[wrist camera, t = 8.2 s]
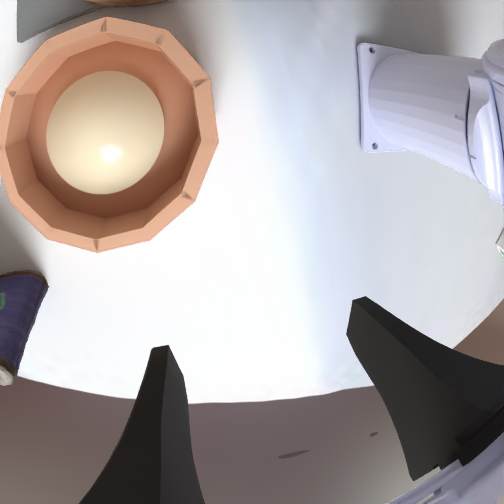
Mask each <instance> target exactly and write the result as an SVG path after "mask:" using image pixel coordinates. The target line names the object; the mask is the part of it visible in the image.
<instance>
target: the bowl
mask: <svg viewBox="0 0 504 504" xmlns="http://www.w3.org/2000/svg"><path fill="white" fill-rule="evenodd" d="M218 143H219V141H218V134H217V126H216V119H215V112H214V104H213V97H212V89H211V81H210V77H209V76H208V75H207V74H206V72H205V71H204V70H203V69H202V68H201V67H200V65H199V64H198V63H197V62H196V61H195V60H194V58H193V57H192V56H191V55H190V54H189V53H188V52H187V50H186V49H185V48H184V47H183V46H182V45H181V44H180V43H179V42H178V40H177V39H176V38H175V37H174V36H173V35H172V34H171V33H170V32H169V31H168V30H166V29H162V28H158V27H154V26H150V25H146V24H142V23H137V22H133V21H128V20H123V19H117V18H112V17H103V18H100V19H97V20H94V21H91V22H89V23H86V24H83V25H80V26H78V27H75V28H73V29H70V30H68V31H65V32H63V33H61V34H58V35H56V36H54V37H52V38H50V39H47V40H46V41H45V42H44V43H43V44H42V45H41V46H40V47H39V48H38V49H37V51H36V52H35V53H34V54H33V55H32V56H31V58H30V59H29V60H28V61H27V63H26V64H25V65H24V66H23V67H22V69H21V70H20V71H19V73H18V74H17V75H16V77H15V78H14V79H13V81H12V82H11V83H10V85H9V86H8V88H7V89H6V91H5V95H4V99H3V103H2V107H1V112H0V173H1V177H2V180H3V183H4V186H5V189H6V192H7V195H8V198H9V201H10V203H11V204H12V205H13V206H14V207H15V208H16V209H17V210H18V211H19V212H20V213H21V214H22V215H23V216H24V217H25V218H26V219H27V220H28V221H29V222H30V223H31V224H32V225H33V226H34V227H35V228H36V229H37V230H38V231H39V232H40V233H41V234H42V235H43V236H45V237H46V238H47V239H49V240H52V241H56V242H59V243H63V244H67V245H70V246H74V247H78V248H81V249H85V250H89V251H93V252H96V253H99V252H103V251H107V250H111V249H115V248H119V247H123V246H128V245H132V244H136V243H140V242H145V241H149V240H151V239H152V238H153V237H155V236H156V235H157V234H158V233H159V232H160V231H161V230H162V229H164V228H165V227H166V226H167V225H168V224H169V223H170V222H172V221H173V220H174V219H175V218H176V217H177V216H179V215H180V214H181V213H182V212H183V211H184V210H186V209H187V208H188V207H189V206H190V205H191V204H193V203H194V202H195V201H196V198H197V195H198V193H199V190H200V187H201V185H202V182H203V180H204V177H205V175H206V172H207V170H208V167H209V165H210V162H211V160H212V157H213V155H214V152H215V150H216V148H217V145H218Z"/></svg>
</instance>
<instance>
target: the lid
mask: <svg viewBox="0 0 504 504" xmlns="http://www.w3.org/2000/svg"><path fill="white" fill-rule="evenodd" d="M83 1H86V2H89V3H93V4H98V5H105V6H135V5H145V4H151V3H157V2H162V1H166V0H83Z"/></svg>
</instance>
